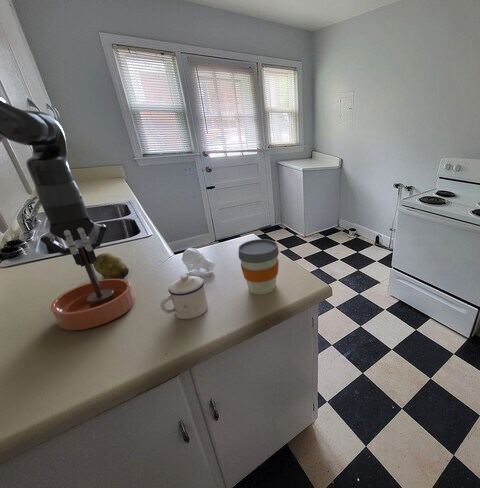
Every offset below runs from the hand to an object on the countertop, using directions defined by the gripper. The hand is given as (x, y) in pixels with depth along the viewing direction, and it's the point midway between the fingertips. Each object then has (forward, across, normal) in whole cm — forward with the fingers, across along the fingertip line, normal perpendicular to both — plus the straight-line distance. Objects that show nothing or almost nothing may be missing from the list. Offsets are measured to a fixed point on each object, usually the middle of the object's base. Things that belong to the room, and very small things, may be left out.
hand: (87, 263), depth 73 cm
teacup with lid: (+16, -18, +16) cm, 29 cm away
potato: (+16, -4, -24) cm, 29 cm away
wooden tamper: (+13, 0, 0) cm, 13 cm away
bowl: (+16, +2, -1) cm, 16 cm away
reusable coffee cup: (+16, -41, +19) cm, 48 cm away
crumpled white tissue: (+16, -30, -7) cm, 34 cm away
